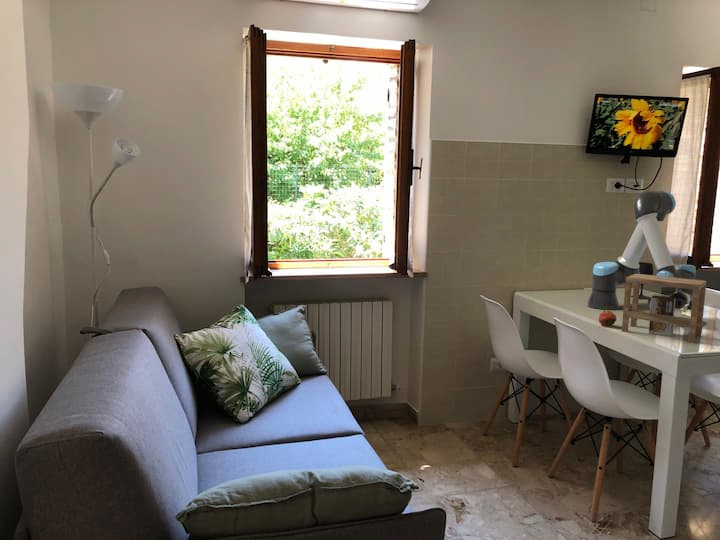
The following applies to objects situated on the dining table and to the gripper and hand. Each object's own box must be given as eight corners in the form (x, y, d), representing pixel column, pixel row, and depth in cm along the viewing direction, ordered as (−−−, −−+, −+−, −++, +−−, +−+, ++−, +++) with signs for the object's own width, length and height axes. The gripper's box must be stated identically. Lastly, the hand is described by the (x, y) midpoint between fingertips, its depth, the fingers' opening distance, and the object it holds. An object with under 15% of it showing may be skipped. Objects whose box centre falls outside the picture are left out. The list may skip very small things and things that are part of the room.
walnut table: (631, 325, 265) (635, 273, 261) (701, 335, 247) (706, 280, 243) (621, 331, 254) (625, 277, 250) (693, 342, 236) (699, 285, 232)
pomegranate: (617, 332, 260) (614, 315, 267) (618, 322, 256) (615, 305, 262) (600, 332, 262) (597, 316, 269) (600, 322, 258) (597, 305, 264)
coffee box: (673, 333, 251) (676, 297, 248) (671, 336, 245) (675, 299, 243) (649, 330, 255) (652, 294, 253) (647, 333, 250) (651, 297, 248)
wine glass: (653, 299, 325) (656, 264, 322) (633, 299, 327) (636, 264, 324) (648, 296, 335) (651, 262, 332) (629, 295, 337) (631, 261, 334)
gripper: (708, 311, 264) (698, 319, 248) (650, 303, 280) (636, 310, 264) (710, 295, 263) (700, 302, 247) (651, 288, 279) (638, 294, 263)
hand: (667, 306), depth 255 cm, fingers open, 13 cm apart
